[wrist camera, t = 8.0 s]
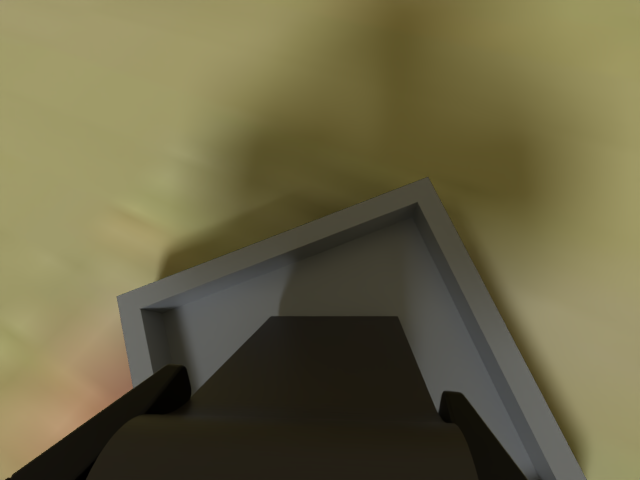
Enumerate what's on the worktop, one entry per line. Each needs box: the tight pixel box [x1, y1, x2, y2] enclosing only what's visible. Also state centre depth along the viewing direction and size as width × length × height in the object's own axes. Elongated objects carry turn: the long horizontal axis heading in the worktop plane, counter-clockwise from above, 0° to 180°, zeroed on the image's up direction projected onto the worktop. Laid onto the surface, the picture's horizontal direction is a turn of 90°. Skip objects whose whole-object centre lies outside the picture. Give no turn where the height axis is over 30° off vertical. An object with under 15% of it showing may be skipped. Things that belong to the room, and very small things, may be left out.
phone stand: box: [86, 316, 478, 480], centre depth 11 cm, size 9×6×12 cm, turn 179°
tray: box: [117, 177, 587, 480], centre depth 17 cm, size 16×16×3 cm
